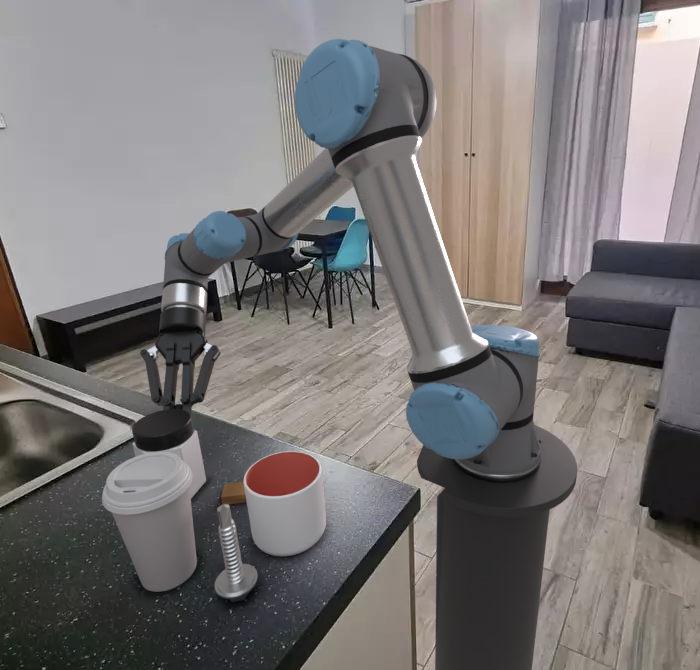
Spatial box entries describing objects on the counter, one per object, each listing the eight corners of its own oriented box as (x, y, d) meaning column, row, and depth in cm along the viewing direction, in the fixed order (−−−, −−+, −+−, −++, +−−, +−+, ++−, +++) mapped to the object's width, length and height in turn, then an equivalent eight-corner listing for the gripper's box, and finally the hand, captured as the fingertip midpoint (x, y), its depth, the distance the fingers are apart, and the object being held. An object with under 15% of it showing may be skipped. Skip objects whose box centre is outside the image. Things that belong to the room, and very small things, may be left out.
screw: (267, 581, 59) (245, 615, 55) (232, 572, 61) (208, 605, 56) (254, 494, 55) (228, 523, 50) (217, 487, 56) (189, 515, 52)
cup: (292, 499, 73) (285, 442, 70) (341, 526, 68) (337, 466, 64) (237, 540, 66) (226, 479, 62) (288, 573, 60) (279, 509, 57)
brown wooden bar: (312, 481, 77) (312, 473, 77) (312, 494, 74) (312, 485, 74) (225, 491, 75) (224, 483, 75) (222, 505, 72) (220, 497, 72)
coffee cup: (108, 588, 59) (77, 487, 53) (169, 534, 67) (148, 441, 62) (168, 613, 55) (141, 507, 50) (225, 553, 64) (207, 456, 58)
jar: (142, 512, 71) (124, 442, 67) (147, 480, 79) (132, 414, 74) (206, 497, 74) (193, 429, 70) (206, 467, 81) (194, 404, 77)
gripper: (226, 321, 92) (223, 446, 82) (151, 325, 90) (139, 453, 80) (217, 302, 85) (212, 437, 76) (136, 306, 83) (121, 444, 74)
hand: (175, 445), depth 78 cm, fingers closed
